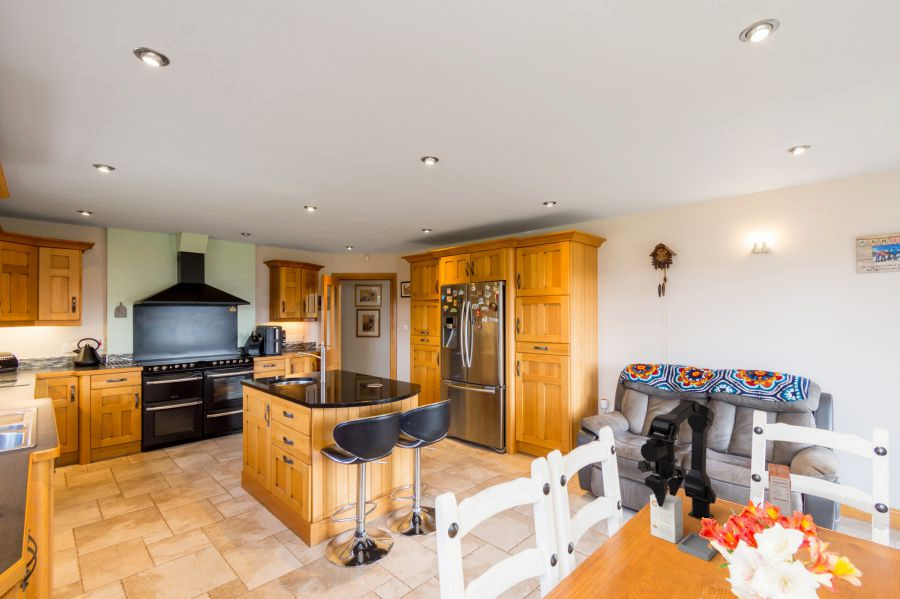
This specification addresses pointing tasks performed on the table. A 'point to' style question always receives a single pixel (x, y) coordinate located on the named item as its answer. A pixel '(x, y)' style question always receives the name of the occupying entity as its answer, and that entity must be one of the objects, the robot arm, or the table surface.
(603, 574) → the table surface
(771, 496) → the cracker box
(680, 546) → the tray
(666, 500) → the small box
